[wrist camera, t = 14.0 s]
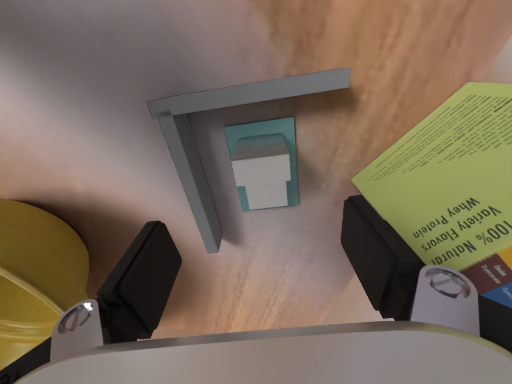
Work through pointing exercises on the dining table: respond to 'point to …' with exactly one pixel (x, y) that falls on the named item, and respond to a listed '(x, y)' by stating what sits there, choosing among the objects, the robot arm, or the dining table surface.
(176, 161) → the corner walls
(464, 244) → the protein box
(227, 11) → the dining table surface
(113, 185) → the dining table surface
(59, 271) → the planter bowl
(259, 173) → the grey l-shaped block
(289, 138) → the mat
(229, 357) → the robot arm
